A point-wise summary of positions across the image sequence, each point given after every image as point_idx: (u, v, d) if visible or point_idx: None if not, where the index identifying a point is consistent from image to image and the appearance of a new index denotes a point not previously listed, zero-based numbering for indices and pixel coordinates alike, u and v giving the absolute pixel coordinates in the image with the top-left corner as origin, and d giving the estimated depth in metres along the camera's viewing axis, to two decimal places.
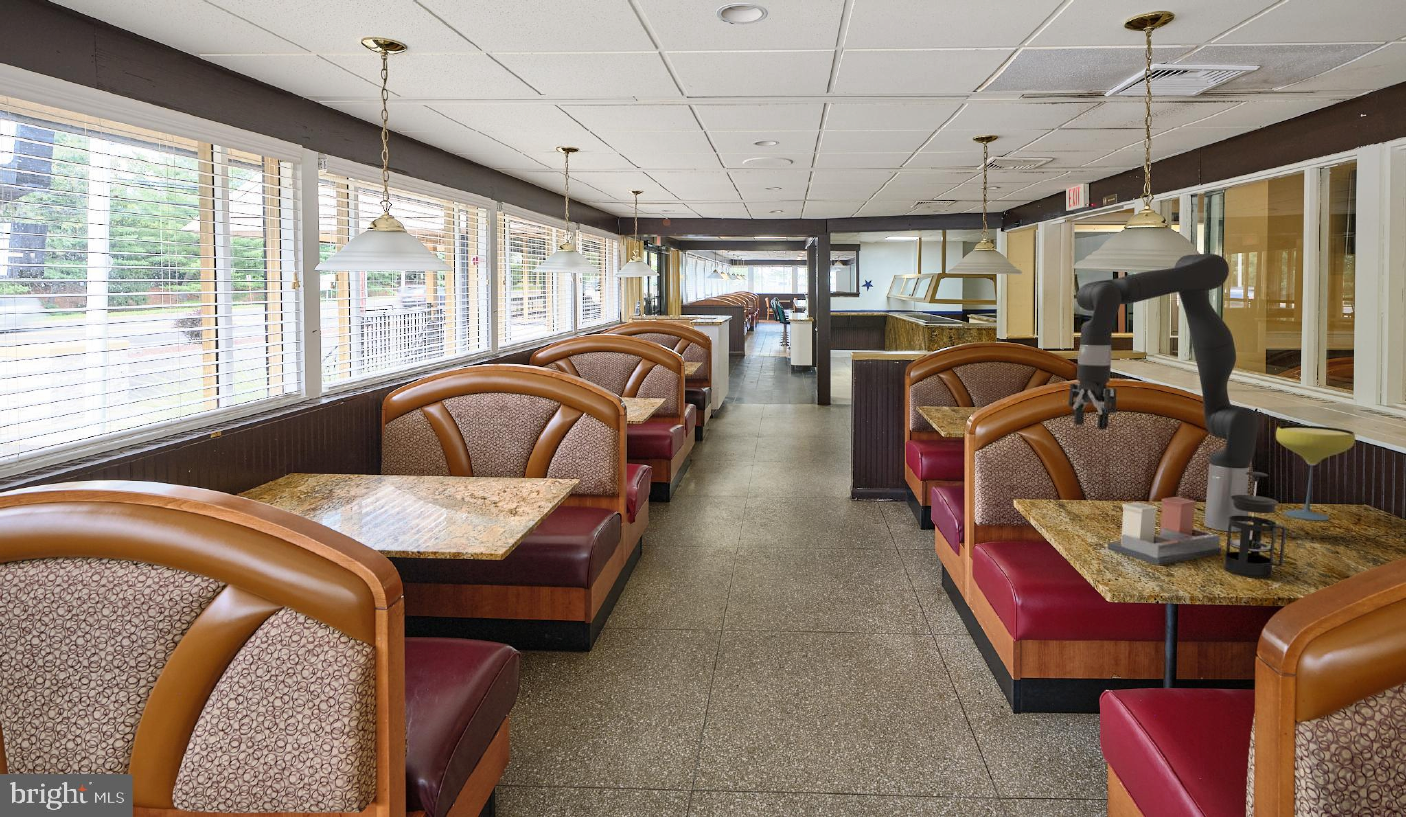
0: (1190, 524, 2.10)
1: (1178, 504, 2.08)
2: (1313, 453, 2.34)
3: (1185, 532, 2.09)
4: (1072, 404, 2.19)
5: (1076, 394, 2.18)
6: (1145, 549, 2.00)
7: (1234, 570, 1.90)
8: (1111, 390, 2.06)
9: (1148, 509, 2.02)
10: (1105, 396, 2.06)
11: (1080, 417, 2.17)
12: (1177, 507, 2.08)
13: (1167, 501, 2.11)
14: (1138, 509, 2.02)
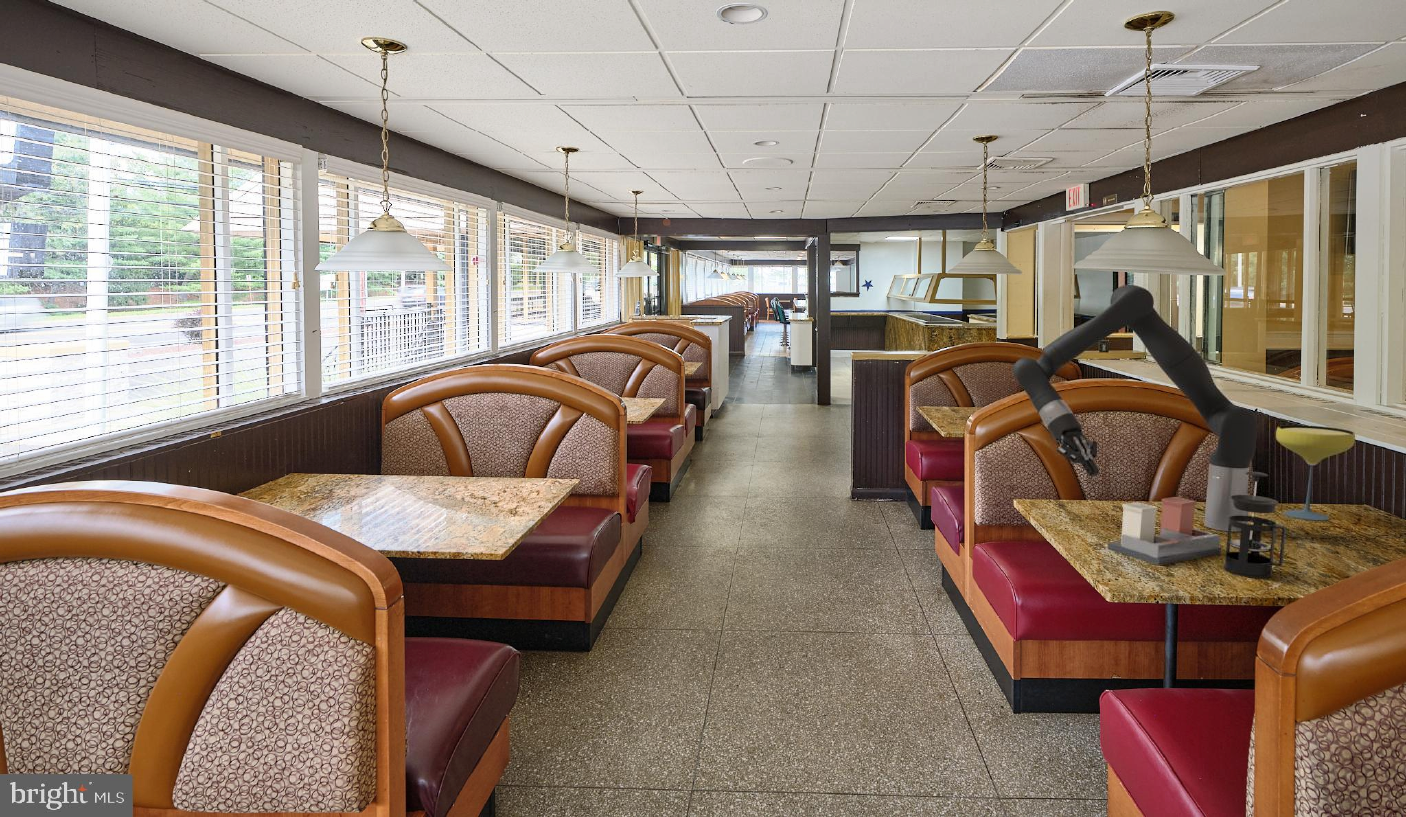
0: (1190, 524, 2.10)
1: (1178, 504, 2.08)
2: (1313, 453, 2.34)
3: (1185, 532, 2.09)
4: None
5: (1089, 449, 2.22)
6: (1145, 549, 2.00)
7: (1234, 570, 1.90)
8: (1060, 449, 2.18)
9: (1148, 509, 2.02)
10: None
11: None
12: (1177, 507, 2.08)
13: (1167, 501, 2.11)
14: (1138, 509, 2.02)
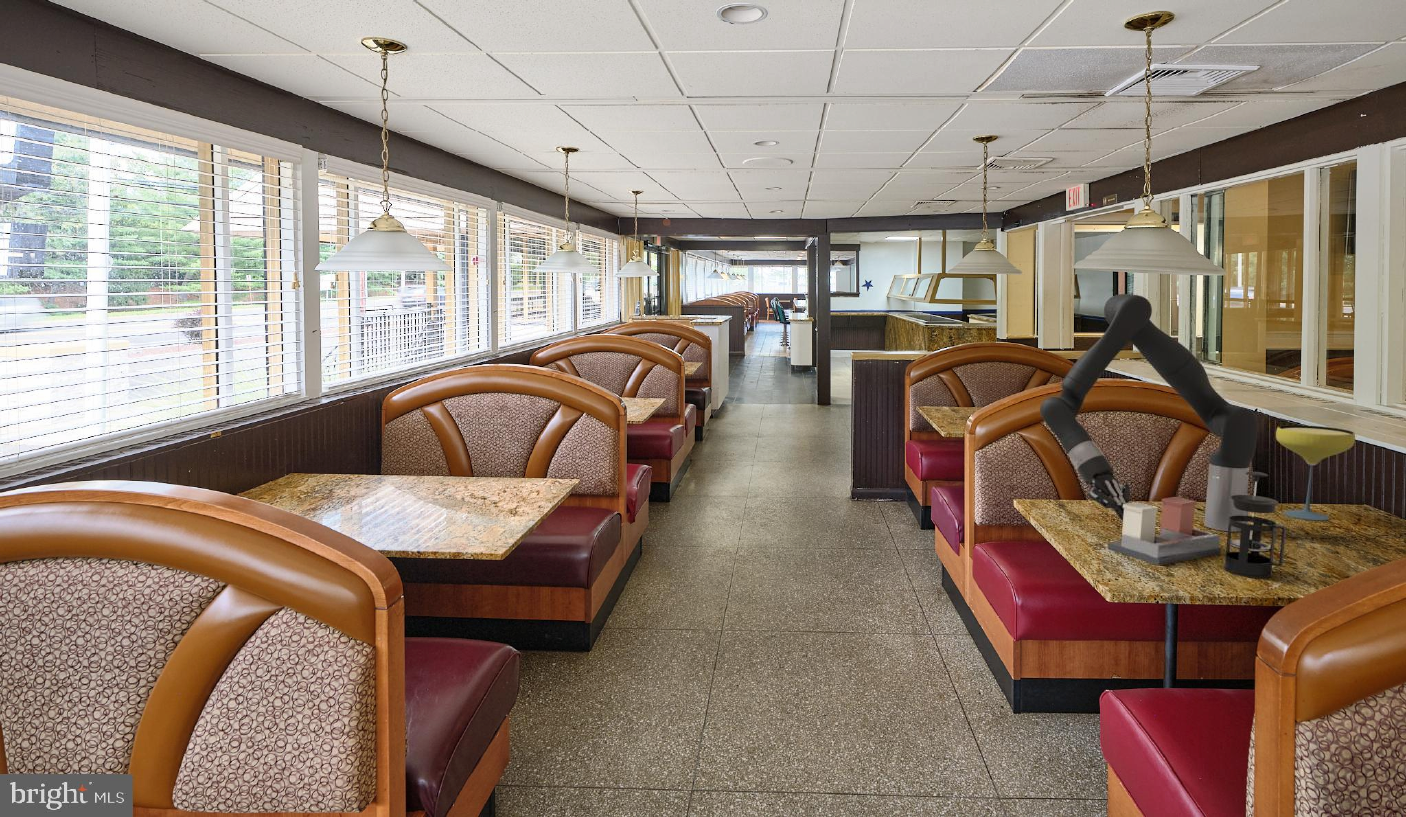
0: (1190, 524, 2.10)
1: (1178, 504, 2.08)
2: (1313, 453, 2.34)
3: (1185, 532, 2.09)
4: None
5: (1122, 493, 2.14)
6: (1145, 549, 2.00)
7: (1234, 570, 1.90)
8: (1091, 493, 2.10)
9: (1148, 509, 2.02)
10: None
11: None
12: (1177, 507, 2.08)
13: (1167, 501, 2.11)
14: (1138, 509, 2.02)
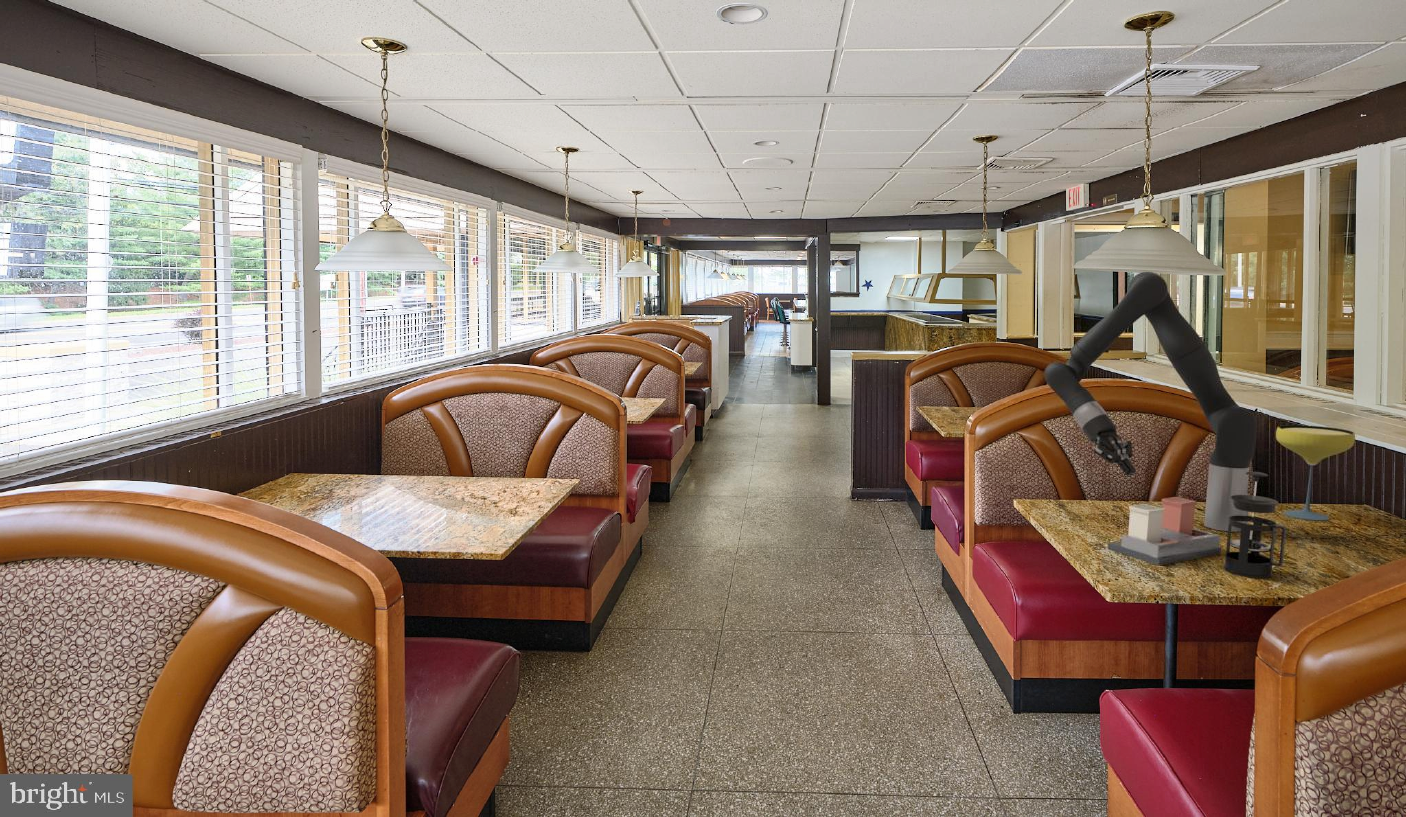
0: (1190, 524, 2.10)
1: (1178, 504, 2.08)
2: (1313, 453, 2.34)
3: (1185, 532, 2.09)
4: None
5: None
6: (1145, 549, 2.00)
7: (1234, 570, 1.90)
8: (1096, 449, 2.23)
9: (1155, 511, 2.01)
10: None
11: None
12: (1177, 507, 2.08)
13: (1167, 501, 2.11)
14: (1145, 511, 2.01)
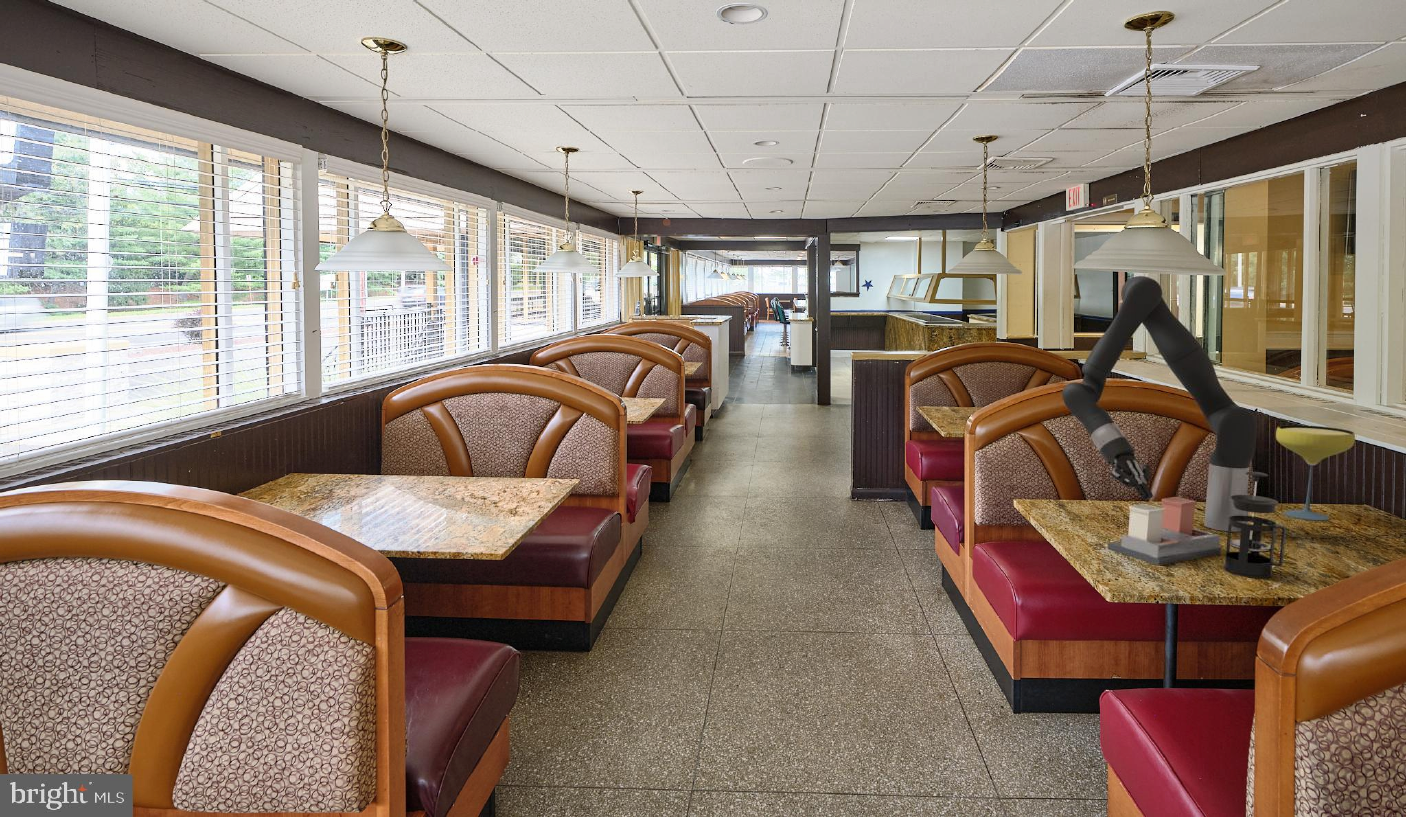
0: (1190, 524, 2.10)
1: (1178, 504, 2.08)
2: (1313, 453, 2.34)
3: (1185, 532, 2.09)
4: None
5: (1142, 473, 2.24)
6: (1145, 549, 2.00)
7: (1234, 570, 1.90)
8: (1113, 473, 2.20)
9: (1155, 511, 2.01)
10: None
11: None
12: (1177, 507, 2.08)
13: (1167, 501, 2.11)
14: (1145, 511, 2.01)
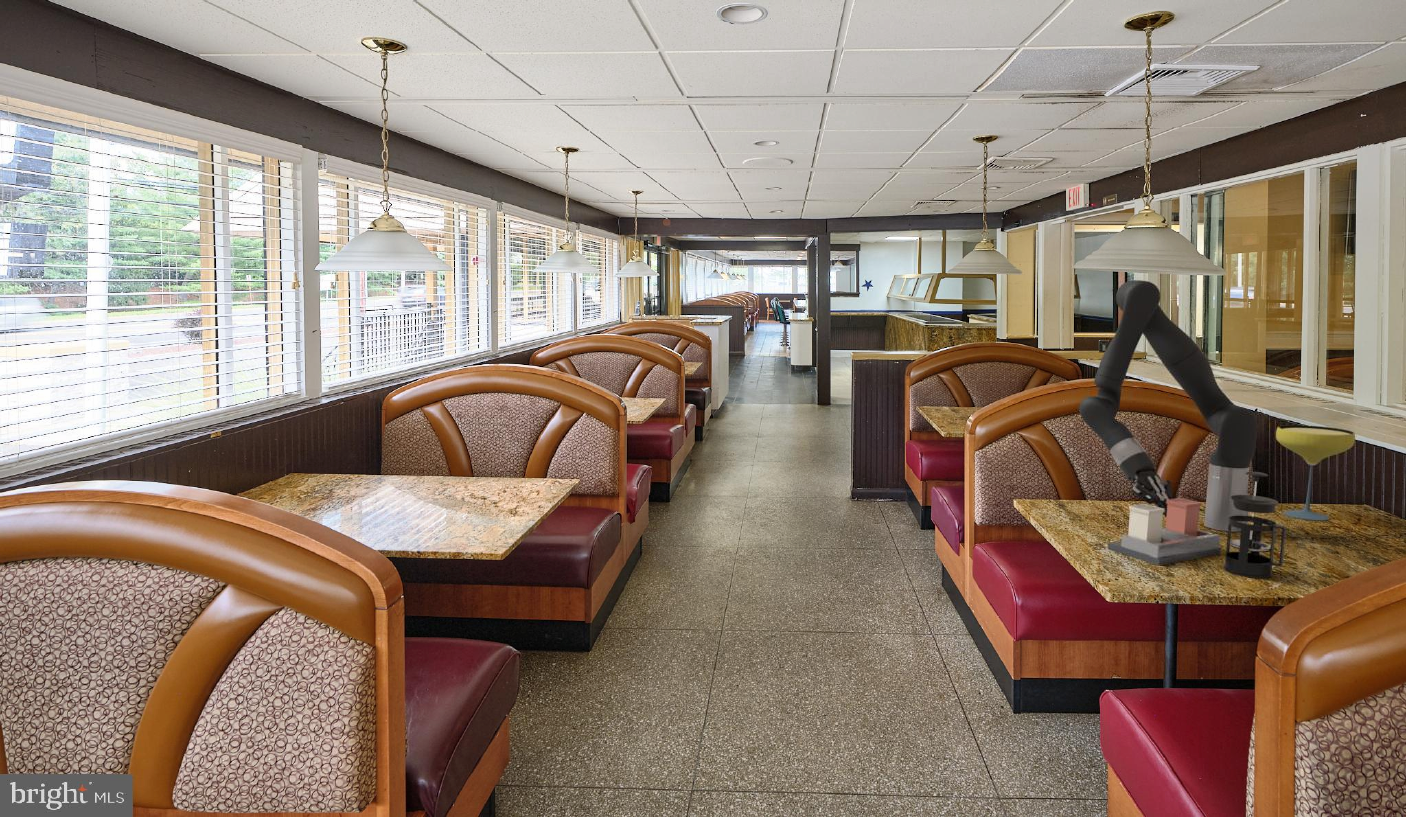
0: (1195, 525, 2.09)
1: (1183, 505, 2.07)
2: (1313, 453, 2.34)
3: (1190, 533, 2.08)
4: None
5: None
6: (1145, 549, 2.00)
7: (1234, 570, 1.90)
8: (1134, 489, 2.15)
9: (1155, 511, 2.01)
10: None
11: None
12: (1181, 508, 2.07)
13: (1172, 502, 2.09)
14: (1145, 511, 2.01)
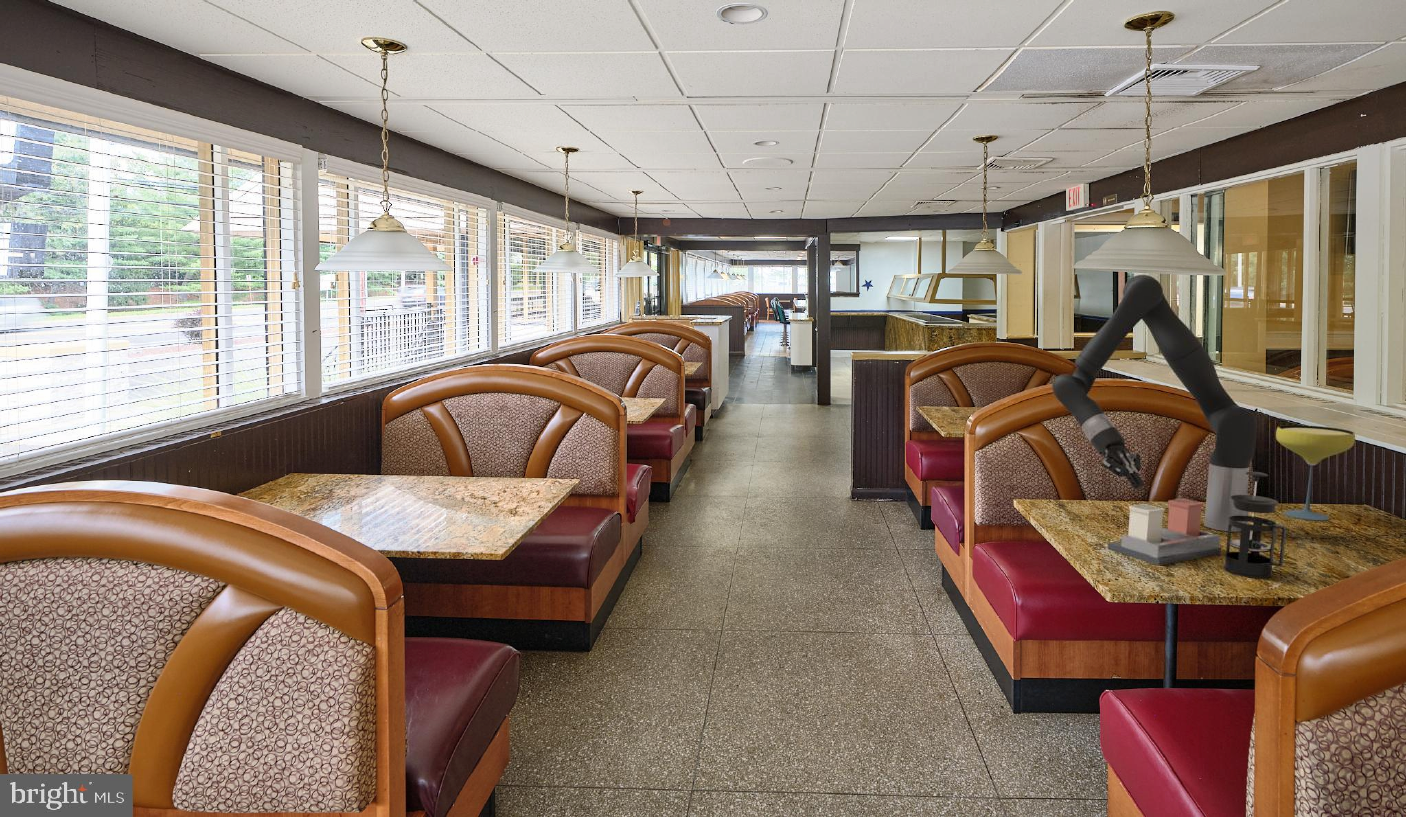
0: (1197, 525, 2.08)
1: (1185, 506, 2.06)
2: (1313, 453, 2.34)
3: (1192, 534, 2.08)
4: None
5: (1133, 462, 2.26)
6: (1145, 549, 2.00)
7: (1234, 570, 1.90)
8: (1104, 463, 2.23)
9: (1155, 511, 2.01)
10: None
11: None
12: (1183, 508, 2.07)
13: (1174, 503, 2.09)
14: (1145, 511, 2.01)
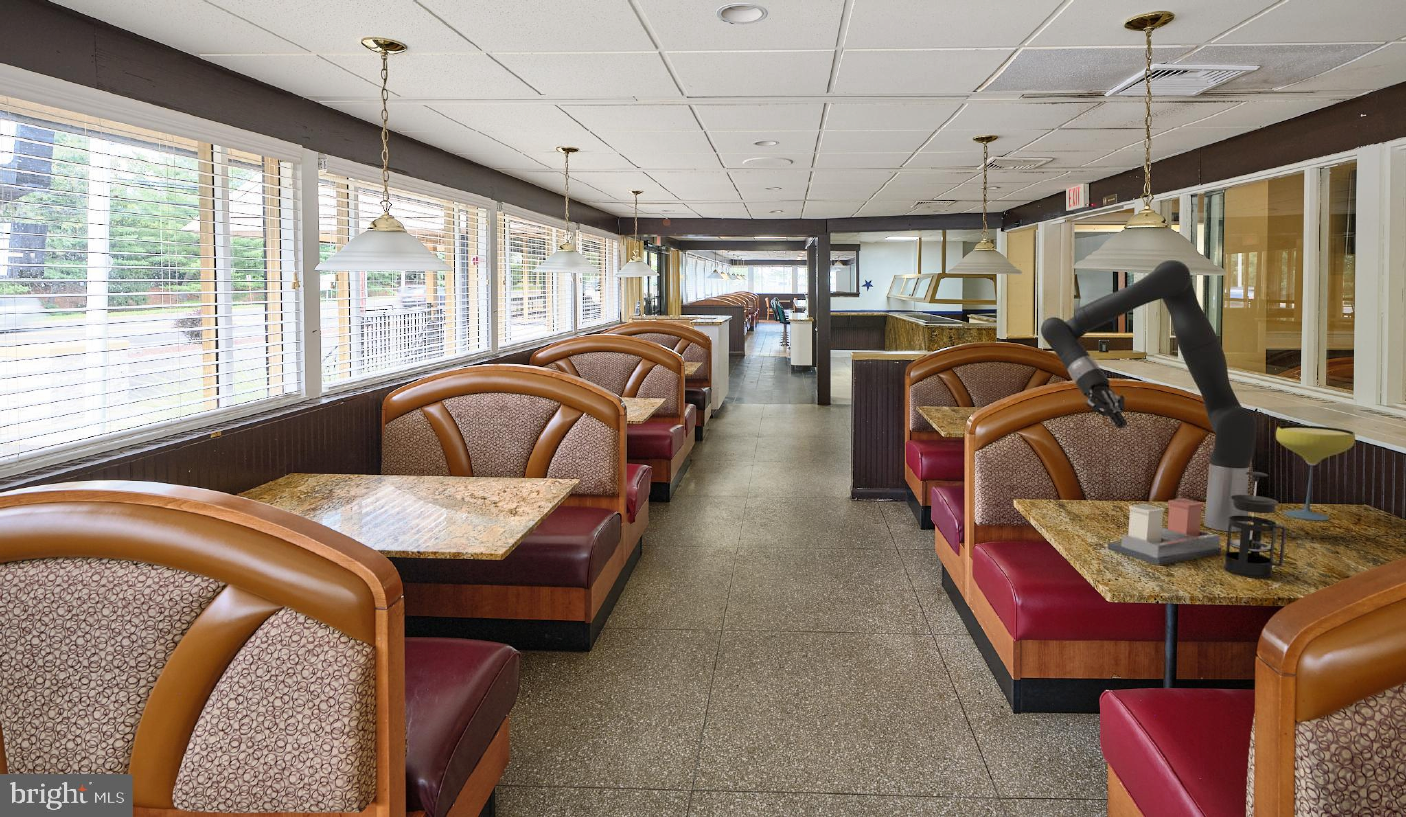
0: (1197, 525, 2.08)
1: (1185, 506, 2.06)
2: (1313, 453, 2.34)
3: (1192, 534, 2.08)
4: None
5: (1117, 404, 2.29)
6: (1145, 549, 2.00)
7: (1234, 570, 1.90)
8: (1089, 402, 2.26)
9: (1155, 511, 2.01)
10: None
11: None
12: (1183, 508, 2.07)
13: (1174, 503, 2.09)
14: (1145, 511, 2.01)
